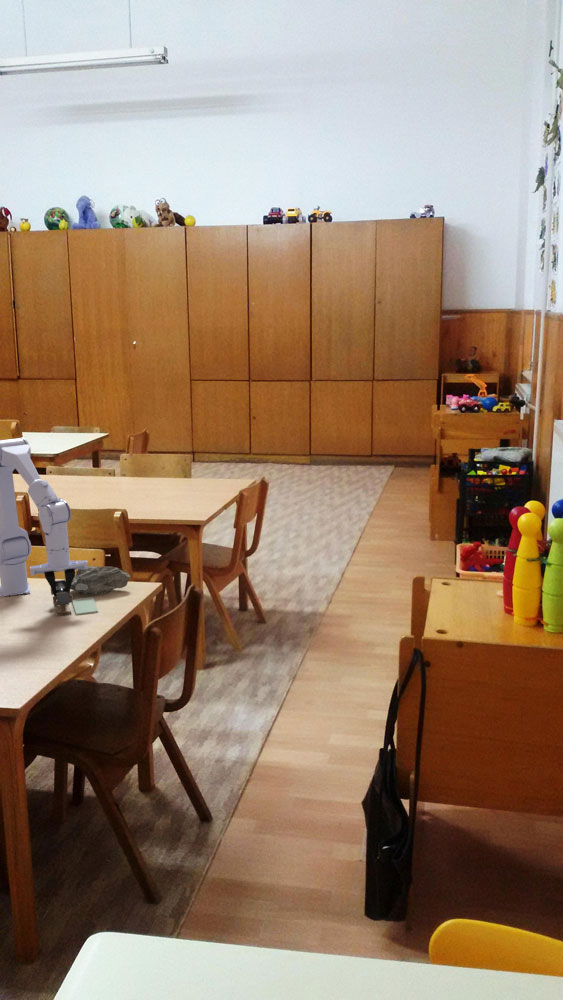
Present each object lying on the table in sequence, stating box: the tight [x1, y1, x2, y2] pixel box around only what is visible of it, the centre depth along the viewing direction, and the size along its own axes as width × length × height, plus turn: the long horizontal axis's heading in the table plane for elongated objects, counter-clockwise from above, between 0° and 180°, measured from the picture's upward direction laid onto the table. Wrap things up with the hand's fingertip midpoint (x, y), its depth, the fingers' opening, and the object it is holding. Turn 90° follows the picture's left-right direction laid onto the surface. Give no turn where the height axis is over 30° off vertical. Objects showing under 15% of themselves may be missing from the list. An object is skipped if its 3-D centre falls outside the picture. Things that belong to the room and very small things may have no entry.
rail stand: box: [50, 588, 74, 617], centre depth 212 cm, size 10×5×5 cm, turn 19°
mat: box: [72, 596, 99, 616], centre depth 214 cm, size 12×6×1 cm, turn 19°
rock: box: [65, 565, 131, 595], centre depth 227 cm, size 18×10×10 cm
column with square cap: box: [55, 579, 71, 605], centre depth 211 cm, size 12×3×3 cm, turn 19°
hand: (61, 597), depth 212 cm, fingers closed on column with square cap, 2 cm apart
